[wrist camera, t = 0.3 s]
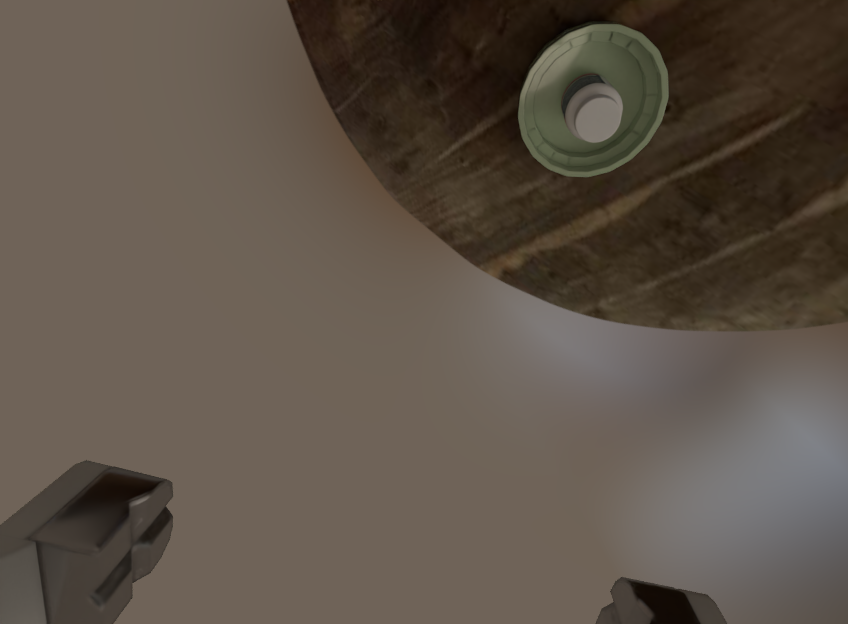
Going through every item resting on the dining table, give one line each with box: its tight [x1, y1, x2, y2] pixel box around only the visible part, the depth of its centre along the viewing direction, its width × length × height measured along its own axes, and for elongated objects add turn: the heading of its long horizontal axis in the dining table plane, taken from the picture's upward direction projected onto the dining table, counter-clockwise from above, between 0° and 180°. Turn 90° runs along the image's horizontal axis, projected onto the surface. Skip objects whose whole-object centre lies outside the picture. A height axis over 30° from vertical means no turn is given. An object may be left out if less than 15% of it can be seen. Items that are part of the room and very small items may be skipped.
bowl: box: [518, 21, 669, 177], centre depth 47 cm, size 14×14×4 cm
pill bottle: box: [561, 73, 623, 143], centre depth 45 cm, size 5×5×9 cm
